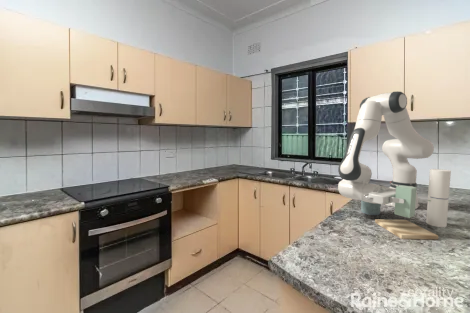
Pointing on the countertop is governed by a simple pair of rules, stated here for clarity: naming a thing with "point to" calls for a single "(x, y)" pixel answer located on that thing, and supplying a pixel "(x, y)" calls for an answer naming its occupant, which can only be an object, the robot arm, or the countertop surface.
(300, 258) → the countertop surface
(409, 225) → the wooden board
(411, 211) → the mint green rectangular block
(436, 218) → the cylindrical container
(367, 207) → the teal plant pot
